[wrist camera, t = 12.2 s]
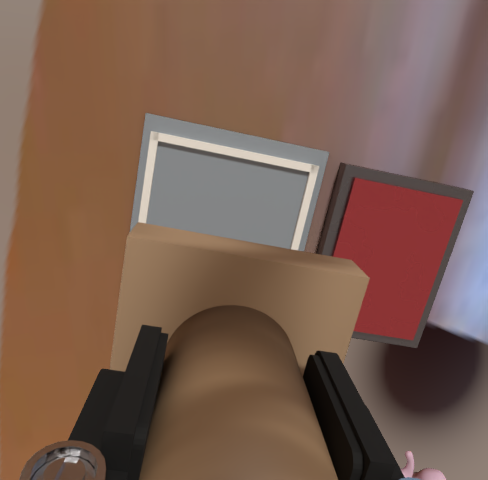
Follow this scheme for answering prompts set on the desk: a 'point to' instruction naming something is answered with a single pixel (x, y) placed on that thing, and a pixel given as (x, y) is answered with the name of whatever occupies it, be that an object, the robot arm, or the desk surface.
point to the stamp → (234, 351)
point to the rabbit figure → (428, 476)
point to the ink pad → (393, 245)
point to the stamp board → (226, 183)
